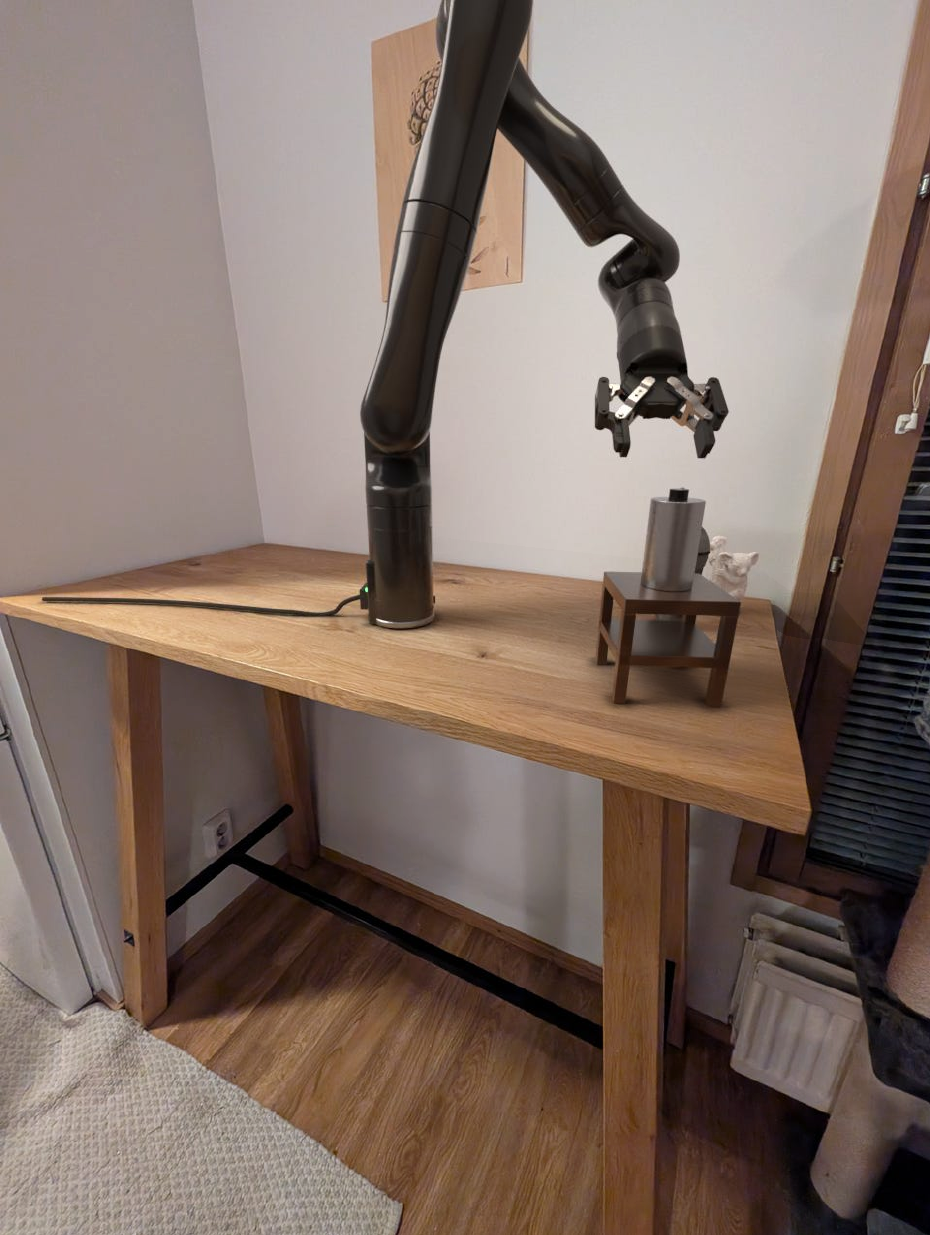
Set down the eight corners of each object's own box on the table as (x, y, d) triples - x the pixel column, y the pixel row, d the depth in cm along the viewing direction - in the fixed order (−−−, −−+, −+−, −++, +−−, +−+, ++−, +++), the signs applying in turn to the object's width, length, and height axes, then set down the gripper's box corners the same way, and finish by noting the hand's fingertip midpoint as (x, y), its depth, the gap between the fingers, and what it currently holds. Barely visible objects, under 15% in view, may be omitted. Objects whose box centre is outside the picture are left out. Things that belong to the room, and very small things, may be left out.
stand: (613, 703, 54) (625, 599, 50) (595, 660, 64) (603, 571, 61) (721, 707, 54) (741, 601, 50) (684, 663, 64) (699, 573, 60)
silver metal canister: (647, 591, 53) (660, 491, 50) (635, 578, 58) (646, 486, 55) (699, 592, 53) (716, 492, 49) (682, 579, 58) (696, 487, 54)
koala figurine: (689, 613, 82) (701, 538, 78) (690, 601, 88) (701, 531, 84) (749, 620, 79) (765, 543, 75) (745, 608, 85) (760, 535, 81)
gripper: (597, 323, 61) (606, 426, 54) (721, 323, 60) (747, 427, 53) (586, 378, 67) (593, 475, 60) (697, 378, 66) (718, 477, 59)
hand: (665, 452), depth 56 cm, fingers open, 8 cm apart
